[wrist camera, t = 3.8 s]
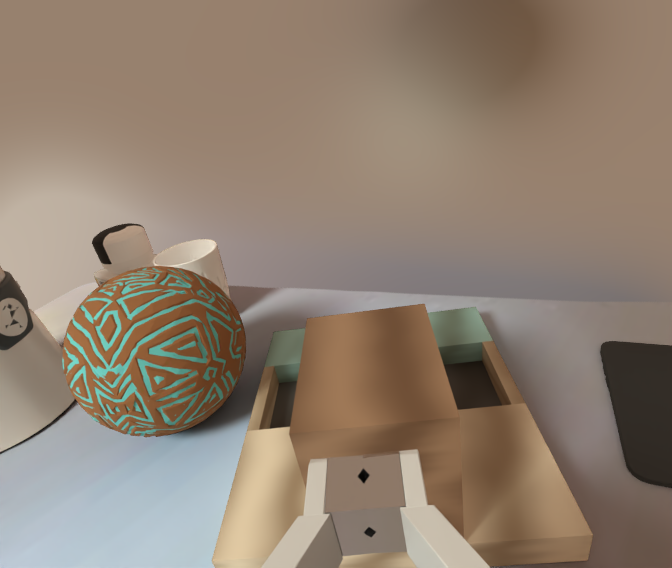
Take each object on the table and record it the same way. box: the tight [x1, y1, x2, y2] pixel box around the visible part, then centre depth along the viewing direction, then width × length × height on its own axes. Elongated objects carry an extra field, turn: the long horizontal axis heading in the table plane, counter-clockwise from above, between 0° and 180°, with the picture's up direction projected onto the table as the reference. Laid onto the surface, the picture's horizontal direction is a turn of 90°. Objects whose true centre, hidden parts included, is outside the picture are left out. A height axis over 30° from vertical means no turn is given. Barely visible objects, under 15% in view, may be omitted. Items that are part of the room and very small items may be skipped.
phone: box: [600, 341, 672, 488], centre depth 32 cm, size 7×1×15 cm
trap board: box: [212, 307, 593, 568], centre depth 35 cm, size 22×24×2 cm
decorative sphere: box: [62, 266, 246, 437], centre depth 38 cm, size 15×15×15 cm
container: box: [92, 224, 156, 286], centre depth 58 cm, size 8×8×13 cm
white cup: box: [153, 239, 231, 300], centre depth 54 cm, size 8×8×10 cm
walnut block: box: [289, 304, 464, 538], centre depth 26 cm, size 8×10×10 cm
